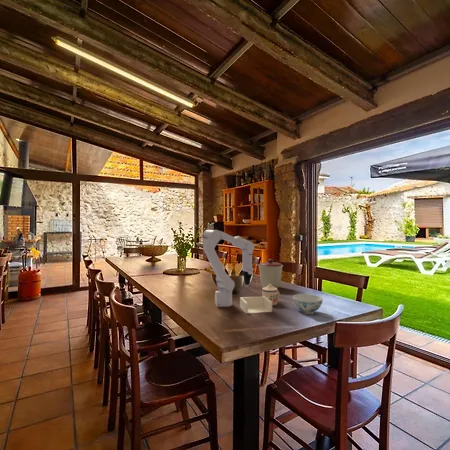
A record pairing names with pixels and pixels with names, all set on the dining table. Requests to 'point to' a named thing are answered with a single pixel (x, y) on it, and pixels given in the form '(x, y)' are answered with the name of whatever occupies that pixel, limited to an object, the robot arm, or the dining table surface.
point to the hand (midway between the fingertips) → (247, 284)
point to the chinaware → (307, 303)
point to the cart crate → (255, 304)
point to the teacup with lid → (271, 293)
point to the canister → (270, 273)
